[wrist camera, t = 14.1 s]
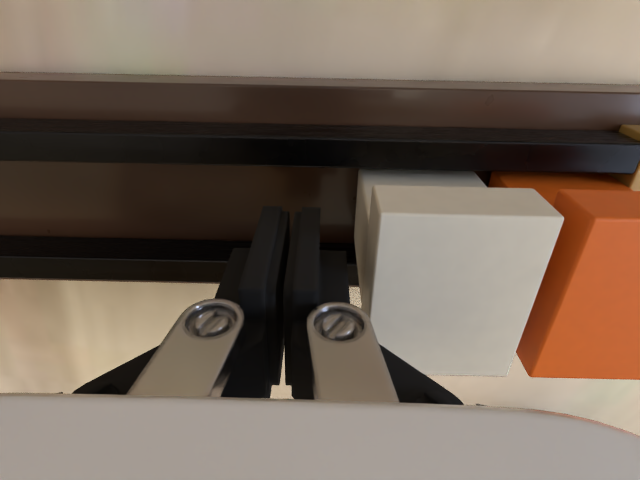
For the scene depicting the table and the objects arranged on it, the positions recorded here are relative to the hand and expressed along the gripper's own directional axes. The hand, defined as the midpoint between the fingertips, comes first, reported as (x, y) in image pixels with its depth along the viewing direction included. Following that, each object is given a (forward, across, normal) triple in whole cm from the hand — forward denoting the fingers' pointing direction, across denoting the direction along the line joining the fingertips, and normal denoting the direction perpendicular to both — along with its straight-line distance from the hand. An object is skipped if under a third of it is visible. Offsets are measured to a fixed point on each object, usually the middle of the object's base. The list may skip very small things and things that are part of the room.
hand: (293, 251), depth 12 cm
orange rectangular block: (+3, -9, 0) cm, 9 cm away
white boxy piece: (+3, -4, 0) cm, 5 cm away
